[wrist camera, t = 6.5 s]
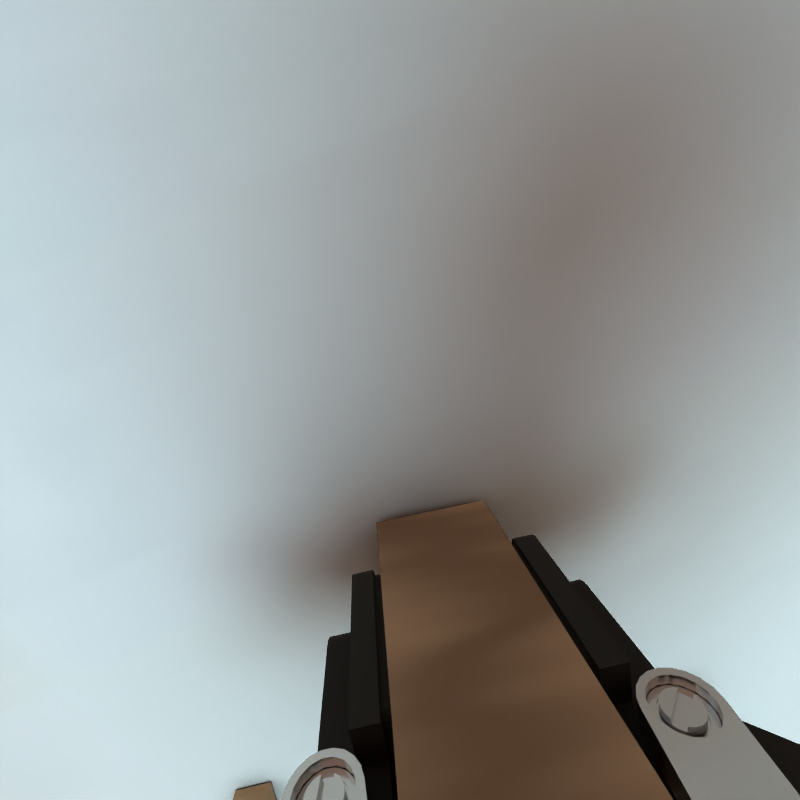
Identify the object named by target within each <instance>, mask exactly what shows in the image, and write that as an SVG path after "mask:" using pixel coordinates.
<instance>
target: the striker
mask: <svg viewBox="0 0 800 800" xmlns="http://www.w3.org/2000/svg"><path fill="white" fill-rule="evenodd" d="M376 524H377V536H378V549H379V562H380V575H381V587H382V600H383V613H384V626H385V638H386V651H387V664H388V677H389V690H390V702H391V715H392V728H393V741H394V753H395V766H396V779H397V792H398V800H673V798H672V797H671V795H670V794H669V792H668V790H667V789H666V787H665V786H664V784H663V783H662V781H661V779H660V778H659V776H658V775H657V773H656V772H655V770H654V768H653V767H652V765H651V764H650V762H649V760H648V759H647V757H646V756H645V754H644V753H643V751H642V749H641V748H640V746H639V745H638V743H637V742H636V740H635V738H634V737H633V735H632V734H631V732H630V730H629V729H628V727H627V726H626V724H625V723H624V721H623V719H622V718H621V716H620V715H619V713H618V711H617V710H616V708H615V707H614V705H613V704H612V702H611V700H610V699H609V697H608V696H607V694H606V693H605V691H604V689H603V688H602V686H601V685H600V683H599V681H598V680H597V678H596V677H595V675H594V674H593V672H592V670H591V669H590V667H589V666H588V664H587V663H586V661H585V659H584V658H583V656H582V655H581V653H580V651H579V650H578V648H577V647H576V645H575V644H574V642H573V640H572V639H571V637H570V636H569V634H568V632H567V631H566V629H565V628H564V626H563V625H562V623H561V621H560V620H559V618H558V617H557V615H556V614H555V612H554V610H553V609H552V607H551V606H550V604H549V602H548V601H547V599H546V598H545V596H544V595H543V593H542V591H541V590H540V588H539V587H538V585H537V584H536V582H535V580H534V579H533V577H532V576H531V574H530V572H529V571H528V569H527V568H526V566H525V565H524V563H523V561H522V560H521V558H520V557H519V555H518V553H517V552H516V550H515V549H514V547H513V546H512V544H511V542H510V541H509V539H508V538H507V536H506V535H505V533H504V531H503V530H502V528H501V527H500V525H499V523H498V522H497V520H496V519H495V517H494V516H493V514H492V512H491V511H490V509H489V508H488V506H487V505H486V503H485V501H484V500H481V501H477V502H472V503H467V504H462V505H458V506H453V507H448V508H443V509H439V510H434V511H429V512H424V513H420V514H415V515H410V516H405V517H401V518H396V519H391V520H386V521H382V522H377V523H376Z"/></svg>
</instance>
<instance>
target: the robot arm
mask: <svg viewBox="0 0 800 800" xmlns="http://www.w3.org/2000/svg"><path fill="white" fill-rule="evenodd" d="M512 546H513V547H514V549H515V550H516V552H517V553H518V555H519V557H520V558H521V560H522V561H523V563H524V565H525V566H526V568H527V569H528V571H529V572H530V574H531V576H532V577H533V579H534V580H535V582H536V584H537V585H538V587H539V588H540V590H541V591H542V593H543V595H544V596H545V598H546V599H547V601H548V602H549V604H550V606H551V607H552V609H553V610H554V612H555V614H556V615H557V617H558V618H559V620H560V621H561V623H562V625H563V626H564V628H565V629H566V631H567V632H568V634H569V636H570V637H571V639H572V640H573V642H574V644H575V645H576V647H577V648H578V650H579V651H580V653H581V655H582V656H583V658H584V659H585V661H586V663H587V664H588V666H589V667H590V669H591V670H592V672H593V674H594V675H595V677H596V678H597V680H598V681H599V683H600V685H601V686H602V688H603V689H604V691H605V693H606V694H607V696H608V697H609V699H610V700H611V702H612V704H613V705H614V707H615V708H616V710H617V711H618V713H619V715H620V716H621V718H622V719H623V721H624V723H625V724H626V726H627V727H628V729H629V730H630V732H631V734H632V735H633V737H634V738H635V740H636V742H637V743H638V745H639V746H640V748H641V749H642V751H643V753H644V754H645V756H646V757H647V759H648V760H649V762H650V764H651V765H652V767H653V768H654V770H655V772H656V773H657V775H658V776H659V778H660V779H661V781H662V783H663V784H664V786H665V787H666V789H667V790H668V792H669V794H670V795H671V797H672V798H673V800H800V744H797V743H795V742H792V741H790V740H787V739H785V738H783V737H780V736H778V735H775V734H773V733H770V732H768V731H765V730H763V729H761V728H758V727H756V726H753V725H751V724H748V723H746V722H743V721H742V720H741V719H740V718H739V717H738V715H737V714H736V713H735V711H734V710H733V709H732V708H731V706H730V705H729V704H728V702H727V701H726V700H725V699H724V698H723V697H722V696H721V695H720V694H719V692H718V691H717V690H716V689H715V688H714V687H712V686H711V685H709V684H708V683H707V682H705V681H704V680H702V679H701V678H699V677H697V676H695V675H693V674H690V673H688V672H686V671H682V670H678V669H674V668H656V669H654V667H653V666H652V665H651V664H650V662H649V661H648V660H647V659H646V657H645V656H644V655H643V654H642V652H641V651H640V650H639V649H638V648H637V646H636V645H635V644H634V643H633V641H632V640H631V639H630V638H629V636H628V635H627V634H626V633H625V631H624V630H623V629H622V628H621V627H620V625H619V624H618V623H617V622H616V620H615V619H614V618H613V617H612V615H611V614H610V613H609V612H608V610H607V609H606V608H605V607H604V606H603V604H602V603H601V602H600V601H599V599H598V598H597V597H596V596H595V594H594V593H593V592H592V591H591V589H590V588H589V587H588V586H587V585H586V584H585V583H584V582H583V581H582V580H575V581H571V582H569V580H568V579H567V578H566V576H565V575H564V574H563V572H562V571H561V570H560V568H559V567H558V566H557V564H556V563H555V562H554V561H553V559H552V558H551V557H550V555H549V554H548V553H547V551H546V550H545V549H544V547H543V546H542V545H541V543H540V542H539V541H538V539H537V538H536V537H535V536H534V535H527V536H523V537H518V538H514V539H512ZM282 800H398V792H397V779H396V766H395V753H394V741H393V728H392V715H391V702H390V690H389V677H388V664H387V651H386V638H385V626H384V613H383V600H382V587H381V575H375V574H374V571H373V570H370V571H366V572H361V573H357V574H353V575H352V600H351V632H350V633H346V634H341V635H337V636H333V637H330V638H329V640H328V645H327V656H326V667H325V678H324V689H323V700H322V710H321V721H320V732H319V743H318V752H317V753H315V754H314V755H312V756H310V757H309V758H307V759H306V760H305V761H304V762H303V763H302V764H301V765H300V766H299V767H298V768H297V769H296V771H295V772H294V774H293V775H292V776H291V778H290V779H289V781H288V784H287V786H286V788H285V791H284V793H283V796H282Z"/></svg>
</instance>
